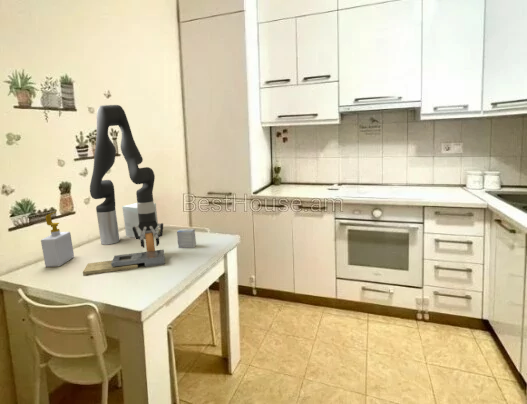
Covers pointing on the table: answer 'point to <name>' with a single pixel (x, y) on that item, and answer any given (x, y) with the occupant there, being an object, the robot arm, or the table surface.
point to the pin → (149, 240)
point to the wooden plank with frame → (126, 262)
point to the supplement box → (133, 219)
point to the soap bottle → (56, 246)
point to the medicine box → (186, 238)
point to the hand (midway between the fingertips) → (150, 246)
